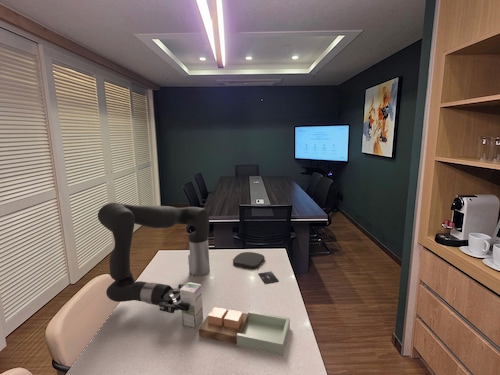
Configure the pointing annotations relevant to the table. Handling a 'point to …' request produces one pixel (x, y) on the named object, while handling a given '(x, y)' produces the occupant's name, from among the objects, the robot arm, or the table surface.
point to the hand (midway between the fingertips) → (194, 300)
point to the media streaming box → (248, 260)
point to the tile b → (233, 319)
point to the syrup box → (192, 304)
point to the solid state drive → (268, 277)
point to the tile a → (217, 316)
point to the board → (222, 331)
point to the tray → (265, 333)
